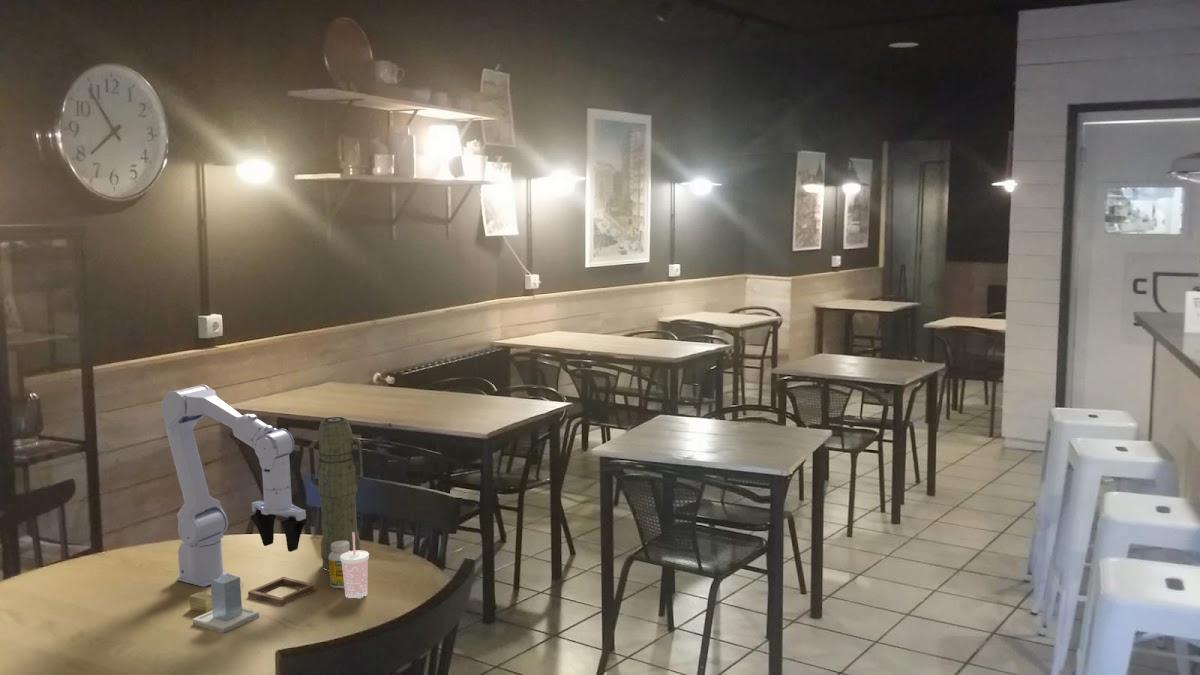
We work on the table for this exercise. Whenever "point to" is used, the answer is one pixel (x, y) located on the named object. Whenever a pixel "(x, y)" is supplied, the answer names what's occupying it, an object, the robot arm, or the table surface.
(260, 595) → the socket
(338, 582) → the supplement bottle
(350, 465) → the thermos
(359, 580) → the beverage cup
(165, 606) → the table surface
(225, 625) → the tray
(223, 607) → the brushed metal block
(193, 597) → the bar
